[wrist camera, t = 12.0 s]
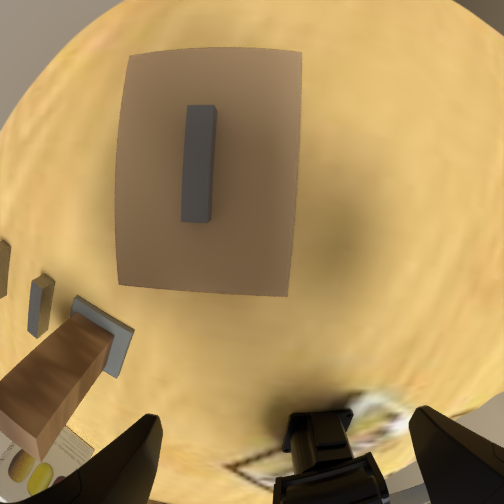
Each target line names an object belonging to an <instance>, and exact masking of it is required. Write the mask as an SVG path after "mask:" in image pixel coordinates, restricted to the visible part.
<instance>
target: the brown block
mask: <svg viewBox="0 0 504 504" xmlns="http://www.w3.org/2000/svg"><path fill="white" fill-rule="evenodd" d="M114 336H115V335H114V334H112V333H110V332H109V331H107V330H105V329H104V328H102V327H100V326H99V325H97V324H96V323H94V322H92V321H91V320H89V319H88V318H86V317H85V316H83V315H82V314H80V313H79V312H76V313H75V314H74V315H73V316H72V317H70V318H69V319H68V320H67V321H66V322H65V323H63V324H62V325H61V326H60V327H59V328H58V329H56V330H55V331H54V332H53V333H52V334H51V335H49V336H48V337H47V338H46V339H45V340H44V341H43V342H42V343H40V344H39V345H38V346H37V347H36V348H35V349H34V350H33V351H31V352H30V353H29V354H28V355H27V356H26V357H25V358H24V359H23V360H22V361H21V362H20V363H18V364H17V365H16V366H15V367H14V368H13V369H12V370H11V371H10V372H9V373H8V374H7V375H6V376H5V377H4V378H3V379H2V380H1V381H0V431H1V432H2V433H4V434H5V435H6V436H7V437H8V438H9V439H10V440H12V441H13V442H14V443H15V444H17V445H18V446H19V447H20V448H22V449H23V450H24V451H25V452H27V453H28V454H29V455H31V456H32V457H33V458H35V459H36V460H38V461H39V462H40V463H42V461H43V459H44V458H45V456H46V455H47V453H48V451H49V450H50V448H51V446H52V445H53V443H54V442H55V440H56V439H57V437H58V435H59V434H60V432H61V431H62V429H63V428H64V426H65V425H66V423H67V422H68V420H69V419H70V417H71V416H72V414H73V413H74V411H75V410H76V408H77V407H78V405H79V404H80V402H81V401H82V399H83V398H84V396H85V395H86V393H87V392H88V391H89V389H90V388H91V386H92V385H93V383H94V382H95V381H96V379H97V378H98V376H99V375H100V374H101V372H102V371H103V369H104V368H105V367H106V364H107V361H108V357H109V353H110V350H111V346H112V343H113V340H114Z"/></svg>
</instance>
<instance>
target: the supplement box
mask: <svg viewBox="0 0 504 504" xmlns="http://www.w3.org/2000/svg"><path fill="white" fill-rule="evenodd" d="M93 452H94V449H93V448H91V447H90V446H89V445H88V444H86V443H85V442H84V441H83V440H82V439H80V438H79V437H78V436H77V435H76V434H74V433H73V432H72V431H71V430H70V429H69V428H68V427H66V426H64V428H63V429H62V431H61V432H60V434H59V435H58V437H57V439H56V440H55V442H54V443H53V445H52V446H51V448H50V450H49V451H48V453H47V455H46V456H45V458H44V459H43V461H42V463H40V462H39V461H38V460H36V459H35V458H33V457H32V456H31V455H29V454H28V453H27V452H25V451H24V450H23V449H22V448H20V447H19V446H18V445H17V444H15V443H14V442H12V443H11V444H10V446H9V447H8V449H7V450H6V451H5V452H4V453H3V454H2V456H1V458H0V500H1V502H4V503H12V502H18V501H21V500H24V499H26V498H28V497H31V496H33V495H35V494H37V493H39V492H41V491H43V490H45V489H47V488H49V487H50V486H52V485H54V484H56V483H58V482H59V481H61V480H62V479H64V478H65V477H67V476H68V475H70V474H71V473H72V472H74V471H75V470H76V469H78V468H79V467H80V466H82V465H83V464H84V463H86V462H87V461H88V460H90V458H91V456H92V454H93Z"/></svg>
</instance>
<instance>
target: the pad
mask: <svg viewBox="0 0 504 504" xmlns="http://www.w3.org/2000/svg"><path fill="white" fill-rule="evenodd" d="M76 312H79V313H80V314H82V315H83V316H85V317H86V318H88V319H89V320H91V321H92V322H94V323H96V324H97V325H99V326H100V327H102V328H104V329H105V330H107V331H109V332H110V333H112V334H114V335H115V336H114V340H113V343H112V346H111V350H110V353H109V357H108V361H107V364H106V367H105V368H104V369H103V371H104V372H106V373H108V374H109V375H111V376H113V377H115V378H116V379H117V378H118V376H119V374H120V371H121V368H122V365H123V362H124V359H125V356H126V353H127V350H128V347H129V344H130V342H131V339H132V336H133V333H134V331H135V330H133V329H132V328H130V327H128V326H126V325H125V324H123V323H121V322H119V321H118V320H116V319H114V318H113V317H111V316H109V315H108V314H106V313H104V312H103V311H101V310H100V309H98V308H96V307H95V306H93V305H92V304H90V303H89V302H87V301H86V300H84V299H83V298H81V297H80V296H78V295H77V296H76V297H75V298H74V301H73V305H72V310H71V315H70V317H72V316H73V315H74V314H75V313H76Z"/></svg>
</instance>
